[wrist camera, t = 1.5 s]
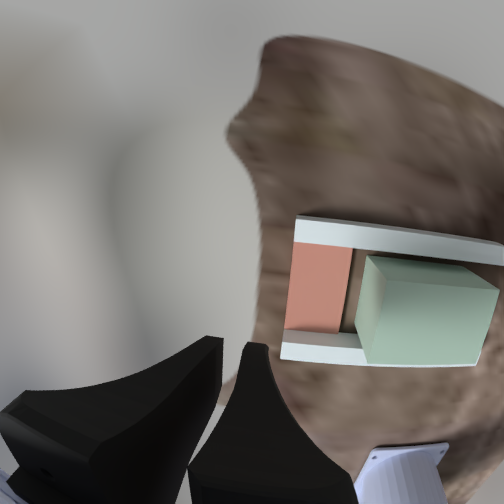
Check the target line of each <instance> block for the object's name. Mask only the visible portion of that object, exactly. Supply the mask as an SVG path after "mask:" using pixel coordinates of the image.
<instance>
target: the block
mask: <svg viewBox="0 0 504 504" xmlns="http://www.w3.org/2000/svg"><path fill="white" fill-rule="evenodd" d="M499 291H500V290H499V289H498V288H496V287H494V286H493V285H491V284H490V283H488V282H487V281H485V280H484V279H482V278H481V277H479V276H477V275H476V274H474V273H473V272H471V271H469V270H468V269H466V268H465V267H463V266H458V265H450V264H441V263H432V262H424V261H415V260H406V259H397V258H388V257H379V256H370V255H367V256H366V263H365V269H364V275H363V281H362V286H361V292H360V297H359V302H358V308H357V313H356V317H355V322H354V323H355V326H356V329H357V332H358V335H359V338H360V341H361V345H362V348H363V351H364V354H365V357H366V360H367V364H394V365H453V364H476V361H477V359H478V356H479V353H480V351H481V348H482V346H483V343H484V340H485V337H486V334H487V331H488V328H489V325H490V322H491V319H492V316H493V313H494V309H495V306H496V302H497V299H498V295H499Z"/></svg>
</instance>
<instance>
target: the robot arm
mask: <svg viewBox="0 0 504 504" xmlns="http://www.w3.org/2000/svg"><path fill="white" fill-rule="evenodd" d="M223 340H224V338H219V337H213V336H204V337H203V338H201V339H199V340H198V341H196V342H195V343H193V344H191V345H190V346H188V347H187V348H185V349H183V350H181V351H180V352H178V353H176V354H175V355H173V356H171V357H169V358H167V359H165V360H163V361H161V362H159V363H158V364H155V365H153V366H151V367H149V368H147V369H145V370H143V371H140V372H138V373H135V374H133V375H130V376H127V377H124V378H121V379H118V380H114V381H110V382H106V383H102V384H98V385H94V386H88V387H82V388H75V389H67V390H46V391H45V390H43V391H31V390H25V391H24V392H23V393H22V394H20V395H19V396H18V397H17V398H16V399H14V400H13V401H12V402H11V403H10V404H9V405H7V406H6V407H5V408H4V409H3V410H2V411H1V412H0V433H1V435H2V437H3V439H4V441H5V443H6V444H7V446H8V448H9V449H10V451H11V453H12V454H13V456H14V458H15V459H16V461H17V463H18V464H19V466H20V467H19V468H18V469H17V470H16V471H15V472H14V473H13V475H11V476H10V475H9V474H7V473H6V472H5V471H3V470H2V469H1V468H0V504H175V502H176V499H177V496H178V493H179V490H180V487H181V484H182V481H183V478H184V475H185V473H186V469H187V470H188V478H189V485H190V493H191V499H192V504H448V501H447V498H446V495H445V492H444V489H443V485H442V482H441V479H440V476H439V473H438V470H437V467H436V466H437V465H438V463H439V462H440V460H441V459H442V457H443V456H444V454H445V453H446V451H447V449H448V448H449V444H448V443H438V444H429V445H419V446H406V447H388V448H375V449H373V450H372V451H371V452H370V455H369V457H368V459H367V461H366V463H365V464H364V466H363V468H362V470H361V472H360V474H359V476H358V478H357V480H356V481H355V483H354V485H353V482H352V479H351V477H350V474H349V473H347V472H346V471H345V470H343V469H342V468H341V467H340V466H338V465H337V464H336V463H335V462H333V461H332V460H331V459H330V458H328V457H327V456H326V455H325V454H324V453H323V452H322V451H321V450H320V449H319V448H318V447H317V446H316V445H315V444H314V443H313V441H312V440H311V439H310V438H309V437H308V435H307V434H306V433H305V432H304V431H303V429H302V428H301V427H300V426H299V424H298V423H297V421H296V420H295V418H294V417H293V415H292V414H291V412H290V410H289V409H288V407H287V405H286V404H285V402H284V400H283V398H282V396H281V394H280V391H279V389H278V387H277V384H276V382H275V379H274V376H273V373H272V370H271V366H270V362H269V356H268V350H269V347H268V346H267V345H266V344H261V343H254V342H247V344H246V345H245V347H244V349H243V351H242V356H241V360H240V365H239V370H238V374H237V379H236V383H235V387H234V390H233V392H232V394H231V397H230V399H229V401H228V403H227V405H226V407H225V409H224V411H223V413H222V415H221V417H220V419H219V421H218V423H217V424H216V426H215V428H214V430H213V431H212V433H211V434H210V436H209V438H208V439H207V441H206V443H205V444H204V445H203V447H202V448H201V450H200V451H199V452H198V454H197V455H196V456H195V458H194V459H193V461H192V462H191V463H190V464H189V461H190V459H191V457H192V455H193V452H194V450H195V448H196V446H197V444H198V442H199V440H200V438H201V436H202V434H203V432H204V430H205V428H206V426H207V424H208V421H209V419H210V417H211V415H212V413H213V411H214V408H215V406H216V403H217V400H218V397H219V393H220V390H221V387H222V368H223ZM188 464H189V465H188Z"/></svg>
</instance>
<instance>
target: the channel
mask: <svg viewBox="0 0 504 504" xmlns="http://www.w3.org/2000/svg"><path fill="white" fill-rule="evenodd" d="M353 248H358V249H367V250H376V251H385V252H394V253H403V254H411V255H420V256H428V257H436V258H445V259H453V260H461V261H469V262H477V263H485V264H493V265H500V266H504V245H502V244H500V243H497V242H494V241H488V240H483V239H477V238H470V237H464V236H458V235H451V234H445V233H438V232H431V231H424V230H417V229H410V228H403V227H395V226H388V225H380V224H372V223H364V222H356V221H347V220H339V219H330V218H320V217H311V216H301V215H296V225H295V235H294V246H293V256H292V266H291V275H290V284H289V293H288V301H287V310H286V318H285V326H284V334H283V341H282V348H281V356H280V359H287V360H297V361H307V362H317V363H330V364H344V365H360V366H383V367H458V366H476V364H477V361H478V359H479V356H480V354H481V351H480V353H479V356H478V359H477V361H476V364H453V365H394V364H367V360H366V357H365V354H364V351H363V348H362V345H361V341H360V338H359V335H358V334H353V333H340V332H339V327H340V322H341V317H342V311H343V306H344V300H345V295H346V289H347V283H348V276H349V270H350V264H351V257H352V250H353Z"/></svg>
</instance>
